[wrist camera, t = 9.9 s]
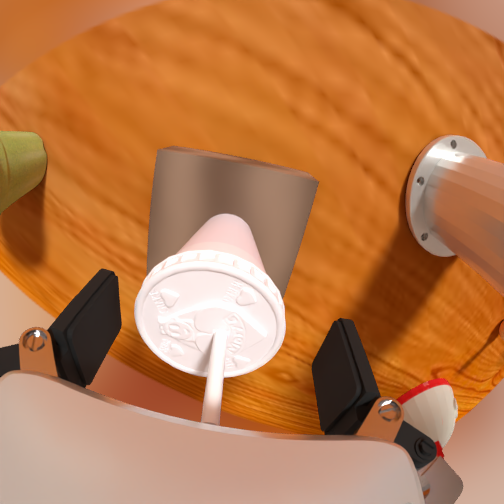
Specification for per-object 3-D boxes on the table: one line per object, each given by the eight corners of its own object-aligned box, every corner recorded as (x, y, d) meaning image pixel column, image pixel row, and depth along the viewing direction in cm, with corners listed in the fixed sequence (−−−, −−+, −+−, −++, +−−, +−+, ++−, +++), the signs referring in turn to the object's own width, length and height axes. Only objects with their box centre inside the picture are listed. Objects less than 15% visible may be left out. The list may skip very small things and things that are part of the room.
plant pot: (70, 127, 19) (4, 137, 11) (51, 215, 22) (-4, 251, 15) (16, 109, 17) (-42, 117, 9) (2, 187, 21) (-49, 212, 13)
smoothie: (266, 280, 21) (281, 462, 8) (182, 274, 21) (121, 443, 8) (276, 198, 18) (329, 362, 5) (181, 191, 18) (58, 330, 5)
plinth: (307, 172, 21) (318, 181, 18) (274, 287, 26) (277, 313, 22) (173, 145, 20) (157, 149, 17) (159, 264, 25) (146, 287, 21)
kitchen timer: (388, 429, 42) (405, 487, 28) (378, 405, 37) (402, 479, 23) (446, 398, 39) (471, 452, 25) (449, 366, 34) (485, 432, 20)
